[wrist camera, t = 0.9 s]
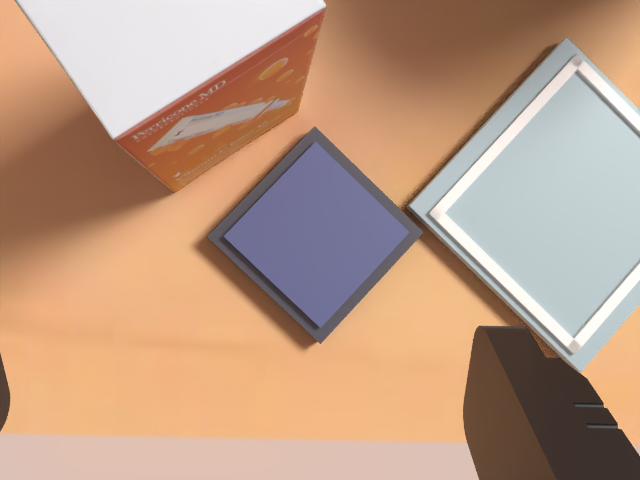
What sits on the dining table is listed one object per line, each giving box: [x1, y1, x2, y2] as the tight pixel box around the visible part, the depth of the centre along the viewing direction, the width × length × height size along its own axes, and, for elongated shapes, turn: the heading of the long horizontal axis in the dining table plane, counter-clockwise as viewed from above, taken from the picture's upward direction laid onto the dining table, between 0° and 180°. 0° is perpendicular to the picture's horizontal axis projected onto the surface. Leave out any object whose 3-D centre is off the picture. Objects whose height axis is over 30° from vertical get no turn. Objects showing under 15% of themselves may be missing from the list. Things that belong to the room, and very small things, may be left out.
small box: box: [15, 0, 326, 192], centre depth 24 cm, size 8×6×13 cm
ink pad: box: [207, 127, 424, 344], centre depth 30 cm, size 8×8×1 cm
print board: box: [406, 37, 640, 372], centre depth 31 cm, size 13×13×1 cm
